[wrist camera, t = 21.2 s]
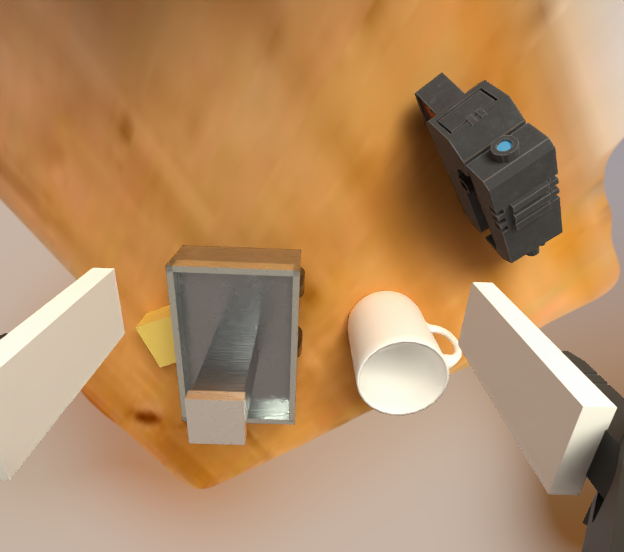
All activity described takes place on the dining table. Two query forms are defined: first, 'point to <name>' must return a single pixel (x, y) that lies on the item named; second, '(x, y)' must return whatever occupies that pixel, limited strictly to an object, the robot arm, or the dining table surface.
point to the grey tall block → (223, 388)
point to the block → (158, 335)
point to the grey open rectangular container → (240, 318)
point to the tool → (495, 164)
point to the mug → (397, 354)
